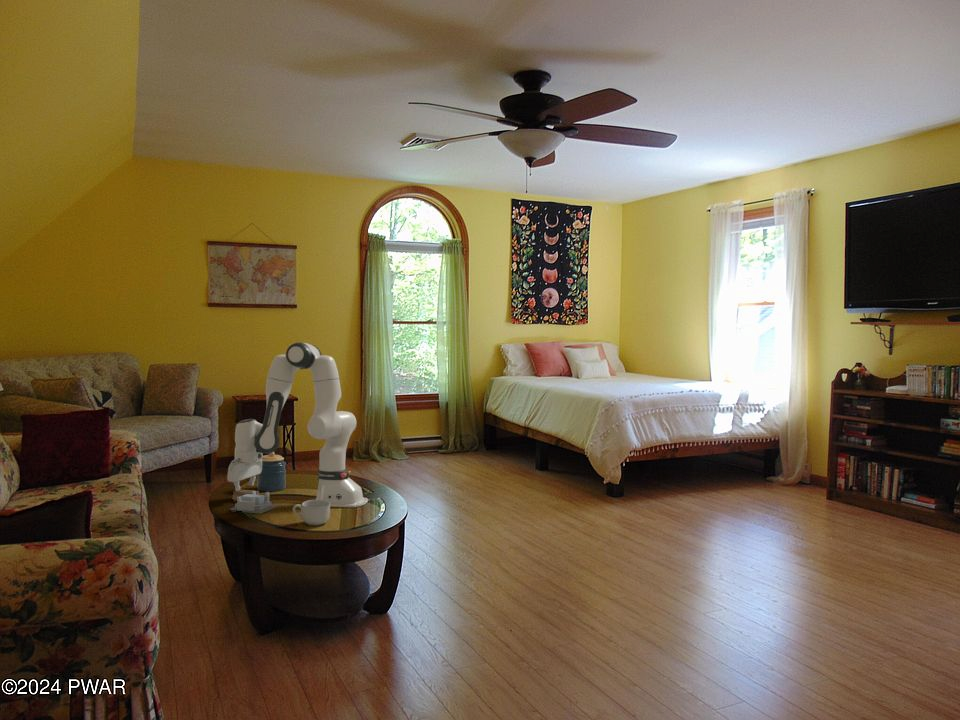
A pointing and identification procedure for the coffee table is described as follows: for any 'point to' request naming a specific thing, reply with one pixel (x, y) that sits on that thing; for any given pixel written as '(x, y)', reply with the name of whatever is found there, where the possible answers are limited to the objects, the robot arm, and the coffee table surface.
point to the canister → (272, 473)
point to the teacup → (314, 511)
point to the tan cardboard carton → (242, 493)
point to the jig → (253, 505)
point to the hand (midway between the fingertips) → (244, 488)
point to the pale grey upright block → (258, 498)
